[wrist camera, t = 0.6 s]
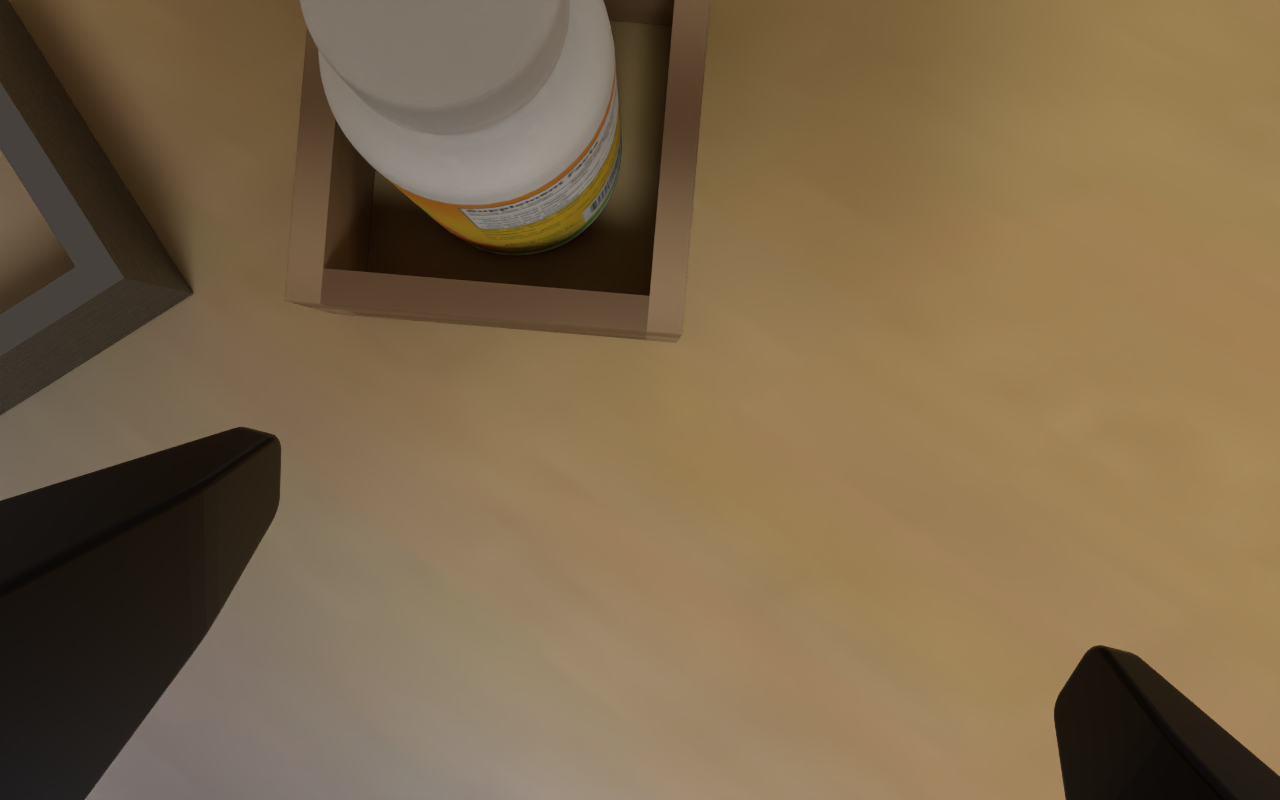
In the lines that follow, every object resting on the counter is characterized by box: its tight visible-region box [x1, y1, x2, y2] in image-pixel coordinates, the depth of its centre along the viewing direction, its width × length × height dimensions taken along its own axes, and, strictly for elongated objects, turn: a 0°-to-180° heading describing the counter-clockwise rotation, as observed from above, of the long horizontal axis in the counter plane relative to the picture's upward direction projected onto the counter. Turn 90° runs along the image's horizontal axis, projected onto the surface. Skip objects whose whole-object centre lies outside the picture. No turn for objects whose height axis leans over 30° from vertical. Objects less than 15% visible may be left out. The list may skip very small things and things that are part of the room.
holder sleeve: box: [285, 0, 710, 342], centre depth 21 cm, size 9×9×3 cm
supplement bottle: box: [300, 0, 622, 255], centre depth 18 cm, size 5×5×10 cm
